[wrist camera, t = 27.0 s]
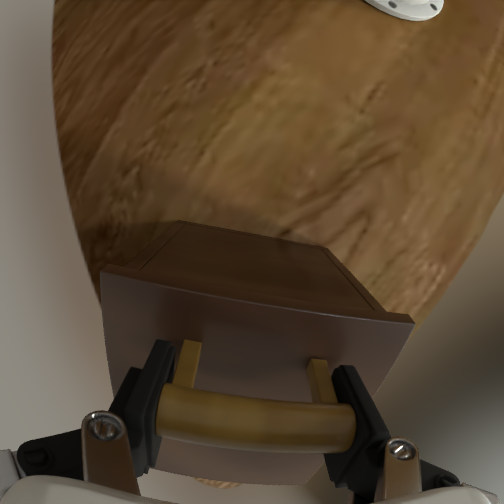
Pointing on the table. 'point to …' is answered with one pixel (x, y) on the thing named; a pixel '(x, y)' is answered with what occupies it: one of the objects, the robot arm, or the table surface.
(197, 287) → the lid
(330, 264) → the chest
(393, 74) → the table surface
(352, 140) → the table surface
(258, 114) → the table surface
